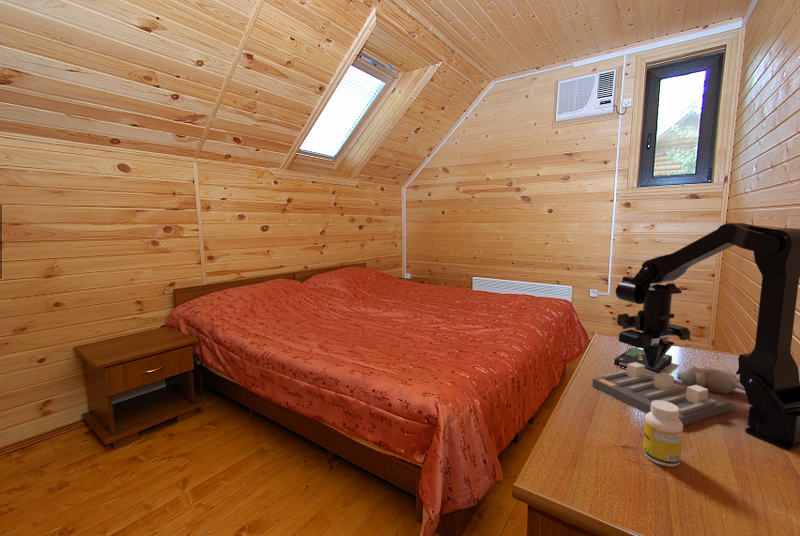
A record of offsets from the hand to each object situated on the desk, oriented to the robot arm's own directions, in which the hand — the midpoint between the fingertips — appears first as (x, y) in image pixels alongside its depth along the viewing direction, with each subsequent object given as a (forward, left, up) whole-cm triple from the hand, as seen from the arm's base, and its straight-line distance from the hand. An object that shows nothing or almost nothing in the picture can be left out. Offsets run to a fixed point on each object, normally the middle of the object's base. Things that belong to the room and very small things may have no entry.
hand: (651, 367), depth 94 cm
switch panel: (-7, +8, -4) cm, 11 cm away
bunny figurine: (-9, -10, -4) cm, 14 cm away
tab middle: (-7, +6, -1) cm, 9 cm away
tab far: (0, +6, -1) cm, 6 cm away
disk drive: (+8, -8, -4) cm, 12 cm away
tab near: (-14, +6, -1) cm, 15 cm away
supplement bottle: (-22, +29, -4) cm, 37 cm away
